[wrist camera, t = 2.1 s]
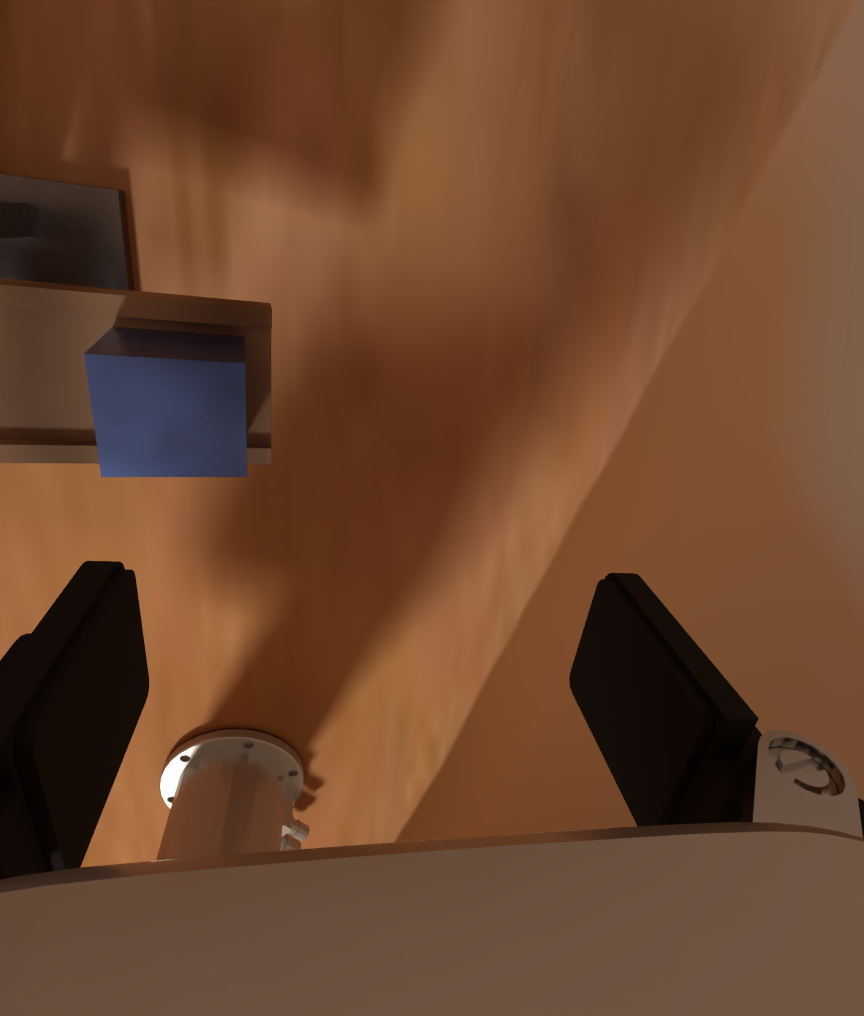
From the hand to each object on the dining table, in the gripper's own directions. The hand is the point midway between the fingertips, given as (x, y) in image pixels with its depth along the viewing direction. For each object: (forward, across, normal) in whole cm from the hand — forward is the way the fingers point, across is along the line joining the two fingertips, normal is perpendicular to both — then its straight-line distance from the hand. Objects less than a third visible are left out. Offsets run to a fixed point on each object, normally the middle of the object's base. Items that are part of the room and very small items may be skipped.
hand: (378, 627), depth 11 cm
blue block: (+16, +7, 0) cm, 18 cm away
